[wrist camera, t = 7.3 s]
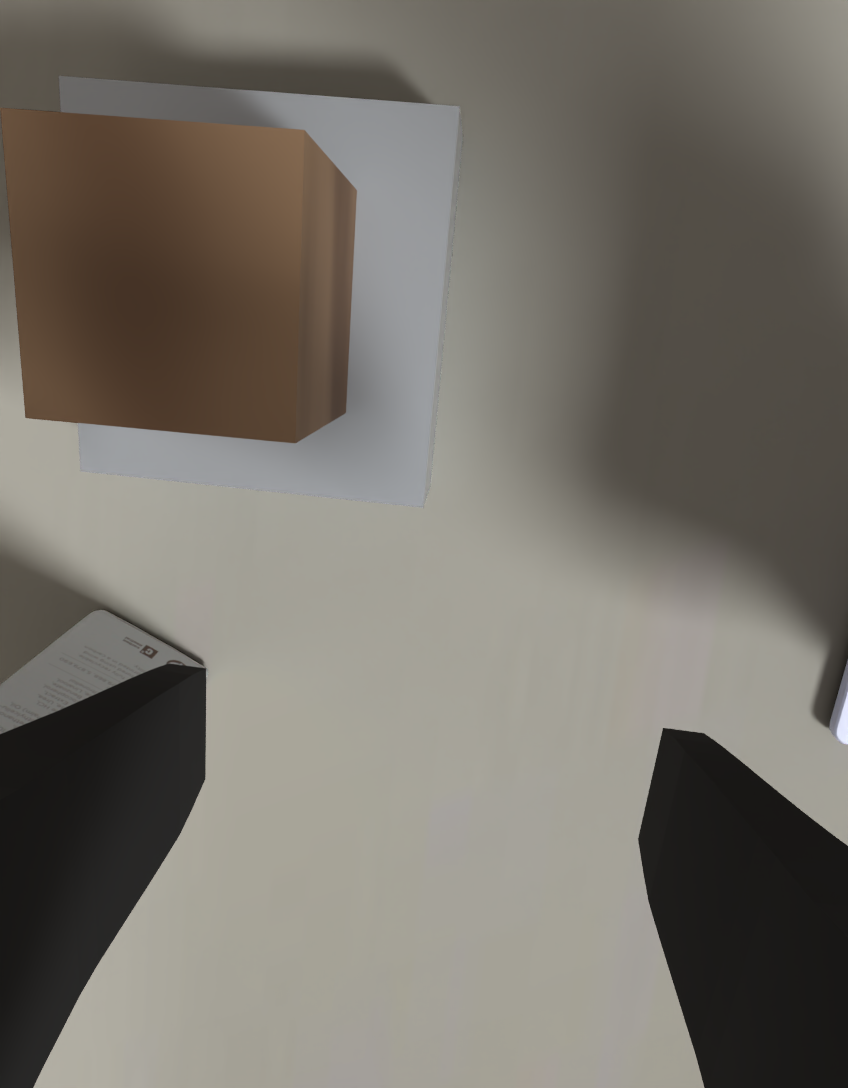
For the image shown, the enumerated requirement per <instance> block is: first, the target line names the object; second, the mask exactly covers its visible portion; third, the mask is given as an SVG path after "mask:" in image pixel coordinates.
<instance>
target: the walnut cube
mask: <svg viewBox="0 0 848 1088" xmlns="http://www.w3.org/2000/svg"><path fill="white" fill-rule="evenodd" d="M0 110H1V123H2V135H3V147H4V159H5V172H6V184H7V196H8V209H9V221H10V233H11V245H12V258H13V270H14V282H15V295H16V307H17V319H18V331H19V344H20V356H21V368H22V380H23V393H24V405H25V417H26V418H31V419H42V420H52V421H63V422H73V423H84V424H95V425H105V426H116V427H126V428H137V429H147V430H158V431H169V432H179V433H190V434H200V435H211V436H221V437H232V438H243V439H253V440H264V441H274V442H285V443H297V442H299V441H300V440H302V439H304V438H305V437H307V436H309V435H310V434H312V433H314V432H315V431H317V430H319V429H320V428H322V427H324V426H325V425H327V424H329V423H330V422H332V421H334V420H335V419H337V418H339V417H340V416H342V415H344V414H345V413H346V403H347V382H348V362H349V342H350V321H351V301H352V281H353V260H354V240H355V220H356V199H357V190H356V188H355V187H354V186H353V185H352V184H351V183H350V182H349V180H348V179H347V178H346V177H345V176H344V175H343V174H342V172H341V171H340V170H339V169H338V168H337V167H336V165H335V164H334V163H333V162H332V161H331V160H330V159H329V157H328V156H327V155H326V154H325V153H324V152H323V151H322V149H321V148H320V147H319V146H318V145H317V144H316V143H315V141H314V140H313V139H312V138H311V137H310V136H309V134H308V133H307V132H306V131H305V130H300V129H286V128H272V127H259V126H245V125H231V124H217V123H203V122H190V121H176V120H162V119H148V118H134V117H120V116H107V115H93V114H79V113H65V112H51V111H38V110H24V109H10V108H0Z"/></svg>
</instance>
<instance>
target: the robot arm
mask: <svg viewBox="0 0 848 1088" xmlns="http://www.w3.org/2000/svg"><path fill="white" fill-rule="evenodd" d="M829 729H830V731H831V733H832V735H833V736H834V737H835V738H836V739H837V740H838V741H839V742H841V743H843V744H846V745H848V660H847V664H846V667H845V671H844V674H843V678H842V681H841V685H840V688H839V692H838V696H837V699H836V703H835V706H834V710H833V713H832V717H831V720H830V728H829ZM205 750H206V668H200V667H192V666H185V665H177V664H166V665H163V666H160V667H157V668H154V669H152V670H149V671H147V672H144V673H142V674H140V675H137V676H135V677H133V678H130V679H128V680H126V681H124V682H121V683H119V684H117V685H115V686H112V687H110V688H108V689H106V690H104V691H101V692H99V693H97V694H95V695H92V696H90V697H88V698H86V699H83V700H81V701H79V702H77V703H74V704H72V705H70V706H68V707H65V708H63V709H61V710H59V711H56V712H54V713H51V714H49V715H46V716H44V717H41V718H39V719H36V720H34V721H31V722H29V723H26V724H24V725H22V726H19V727H17V728H14V729H12V730H9V731H7V732H4V733H2V734H0V1088H33V1087H34V1085H35V1082H36V1080H37V1078H38V1076H39V1074H40V1072H41V1070H42V1068H43V1066H44V1064H45V1062H46V1060H47V1058H48V1056H49V1054H50V1052H51V1050H52V1049H53V1047H54V1045H55V1043H56V1041H57V1039H58V1037H59V1035H60V1033H61V1031H62V1029H63V1027H64V1025H65V1023H66V1021H67V1019H68V1017H69V1015H70V1013H71V1011H72V1009H73V1007H74V1005H75V1003H76V1002H77V1000H78V998H79V996H80V994H81V992H82V991H83V989H84V987H85V985H86V984H87V982H88V980H89V979H90V977H91V975H92V973H93V972H94V970H95V968H96V966H97V965H98V963H99V961H100V960H101V958H102V957H103V955H104V954H105V952H106V951H107V949H108V947H109V946H110V944H111V943H112V941H113V940H114V938H115V936H116V935H117V933H118V932H119V930H120V929H121V927H122V925H123V924H124V922H125V921H126V919H127V918H128V916H129V914H130V913H131V911H132V910H133V908H134V907H135V905H136V903H137V902H138V900H139V899H140V897H141V896H142V894H143V892H144V891H145V889H146V888H147V886H148V885H149V883H150V881H151V880H152V878H153V877H154V875H155V874H156V872H157V870H158V869H159V867H160V866H161V864H162V862H163V861H164V859H165V858H166V856H167V854H168V853H169V851H170V850H171V848H172V846H173V845H174V843H175V841H176V840H177V838H178V836H179V835H180V833H181V831H182V829H183V827H184V825H185V822H186V820H187V818H188V816H189V814H190V812H191V810H192V808H193V805H194V803H195V801H196V799H197V796H198V794H199V792H200V790H201V787H202V785H203V783H204V780H205ZM638 840H639V847H640V853H641V860H642V866H643V873H644V878H645V884H646V889H647V895H648V900H649V904H650V908H651V911H652V914H653V918H654V921H655V925H656V928H657V931H658V934H659V938H660V941H661V944H662V948H663V951H664V954H665V957H666V961H667V964H668V967H669V970H670V974H671V977H672V980H673V983H674V986H675V990H676V993H677V996H678V999H679V1002H680V1006H681V1009H682V1012H683V1015H684V1019H685V1022H686V1025H687V1028H688V1031H689V1035H690V1038H691V1041H692V1044H693V1047H694V1051H695V1054H696V1057H697V1061H698V1065H699V1069H700V1072H701V1076H702V1080H703V1083H704V1087H705V1088H848V846H847V845H846V844H844V843H843V842H842V841H840V840H839V839H838V838H836V837H835V836H833V835H832V834H831V833H830V832H828V831H827V830H826V829H824V828H823V827H822V826H820V825H819V824H818V823H817V822H815V821H814V820H813V819H811V818H810V817H809V816H808V815H806V814H805V813H804V812H802V811H801V810H800V809H799V808H797V807H796V806H795V805H794V804H792V803H791V802H790V801H789V800H787V799H786V798H785V797H784V796H782V795H781V794H780V793H779V792H778V791H776V790H775V789H774V788H773V787H771V786H770V785H769V784H768V783H767V782H765V781H764V780H763V779H762V778H760V777H759V776H758V775H757V774H756V773H754V772H753V771H752V770H751V769H750V768H748V767H747V766H746V765H745V764H743V763H742V762H741V761H740V760H739V759H737V758H736V757H735V756H734V755H732V754H731V753H730V752H729V751H727V750H726V749H725V748H723V747H722V746H721V745H720V744H718V743H717V742H716V741H714V740H713V739H711V738H710V737H708V736H707V735H705V734H704V733H697V732H690V731H682V730H674V729H667V728H663V731H662V736H661V740H660V745H659V749H658V754H657V758H656V762H655V767H654V771H653V776H652V780H651V785H650V789H649V794H648V798H647V802H646V807H645V811H644V816H643V820H642V825H641V829H640V834H639V838H638Z"/></svg>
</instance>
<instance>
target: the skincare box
mask: <svg viewBox="0 0 848 1088" xmlns="http://www.w3.org/2000/svg"><path fill="white" fill-rule="evenodd" d="M166 664H177V665H185V666H192V667H200V668H205V667H204V666H202V665H200V664H199V663H197V662H195V661H194V660H192V659H191V658H189V657H188V656H186V655H184V654H183V653H181V652H179V651H178V650H176V649H175V648H173V647H171V646H169V645H167V644H165V643H163V642H162V641H160V640H158V639H156V638H155V637H153V636H151V635H149V634H148V633H146V632H144V631H142V630H141V629H139V628H137V627H136V626H134V625H132V624H130V623H128V622H126V621H124V620H122V619H121V618H119V617H117V616H115V615H113V614H111V613H109V612H108V611H105V610H96V611H93V612H91V613H90V614H88V615H87V616H86V617H84V618H83V619H82V620H81V621H79V622H78V623H77V624H76V625H74V626H73V627H72V628H70V629H69V630H68V631H67V632H65V633H64V634H63V635H62V636H60V637H59V638H58V639H57V640H55V641H54V642H53V643H51V644H50V645H49V646H48V647H47V648H45V649H44V650H43V651H42V652H40V653H39V654H38V655H37V656H35V657H34V658H33V659H32V660H30V661H29V662H28V663H27V664H25V665H24V666H23V667H22V668H20V669H19V670H18V671H17V672H15V673H14V674H13V675H12V676H10V677H9V678H8V679H7V680H5V681H4V682H3V683H2V684H0V734H2V733H4V732H7V731H9V730H12V729H14V728H17V727H19V726H22V725H24V724H26V723H29V722H31V721H34V720H36V719H39V718H41V717H44V716H46V715H49V714H51V713H54V712H56V711H59V710H61V709H63V708H65V707H68V706H70V705H72V704H74V703H77V702H79V701H81V700H83V699H86V698H88V697H90V696H92V695H95V694H97V693H99V692H101V691H104V690H106V689H108V688H110V687H112V686H115V685H117V684H119V683H121V682H124V681H126V680H128V679H130V678H133V677H135V676H137V675H140V674H142V673H144V672H147V671H149V670H152V669H154V668H157V667H160V666H163V665H166ZM207 676H208V669H207V668H206V678H207Z"/></svg>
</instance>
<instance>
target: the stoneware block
mask: <svg viewBox="0 0 848 1088" xmlns="http://www.w3.org/2000/svg"><path fill="white" fill-rule="evenodd" d="M59 91H60V109H61V112H65V113H79V114H93V115H107V116H120V117H134V118H148V119H162V120H176V121H190V122H203V123H217V124H231V125H245V126H259V127H272V128H286V129H300V130H305V131H306V132H307V133H308V134H309V136H310V137H311V138H312V139H313V140H314V141H315V143H316V144H317V145H318V146H319V147H320V148H321V149H322V151H323V152H324V153H325V154H326V155H327V156H328V157H329V159H330V160H331V161H332V162H333V163H334V164H335V165H336V167H337V168H338V169H339V170H340V171H341V172H342V174H343V175H344V176H345V177H346V178H347V179H348V180H349V182H350V183H351V184H352V185H353V186H354V187H355V188H356V190H357V199H356V220H355V240H354V260H353V281H352V301H351V321H350V342H349V362H348V382H347V403H346V413H345V414H344V415H342V416H340V417H339V418H337V419H335V420H334V421H332V422H330V423H329V424H327V425H325V426H324V427H322V428H320V429H319V430H317V431H315V432H314V433H312V434H310V435H309V436H307V437H305V438H304V439H302V440H300V441H299V442H297V443H285V442H274V441H264V440H253V439H243V438H232V437H221V436H211V435H200V434H190V433H179V432H169V431H158V430H147V429H137V428H126V427H116V426H105V425H95V424H84V423H78V435H79V453H80V471H82V472H92V473H101V474H111V475H120V476H129V477H139V478H148V479H158V480H167V481H177V482H186V483H195V484H205V485H214V486H224V487H233V488H242V489H252V490H261V491H271V492H280V493H290V494H299V495H308V496H318V497H327V498H337V499H346V500H355V501H365V502H374V503H384V504H393V505H403V506H412V507H421V508H423V507H424V504H425V501H426V498H427V496H428V493H429V490H430V487H431V476H432V465H433V455H434V444H435V433H436V423H437V412H438V401H439V390H440V380H441V369H442V358H443V347H444V337H445V326H446V315H447V304H448V294H449V283H450V272H451V262H452V251H453V240H454V229H455V219H456V208H457V197H458V186H459V176H460V165H461V154H462V143H463V131H462V122H461V113H460V106H450V105H437V104H424V103H411V102H398V101H385V100H371V99H358V98H345V97H332V96H319V95H306V94H293V93H280V92H267V91H253V90H240V89H227V88H214V87H201V86H188V85H175V84H162V83H149V82H135V81H122V80H109V79H96V78H83V77H70V76H59Z"/></svg>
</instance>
